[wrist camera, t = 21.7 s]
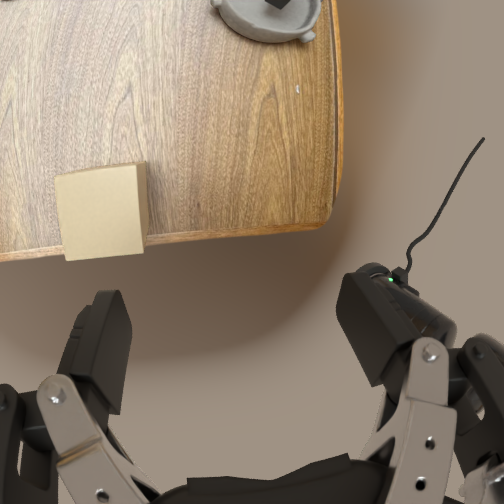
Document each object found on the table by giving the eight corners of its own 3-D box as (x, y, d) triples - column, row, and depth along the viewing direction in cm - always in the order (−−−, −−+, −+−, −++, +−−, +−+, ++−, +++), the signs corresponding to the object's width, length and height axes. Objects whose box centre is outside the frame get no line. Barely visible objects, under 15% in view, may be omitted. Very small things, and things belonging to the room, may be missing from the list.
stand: (145, 160, 31) (136, 164, 21) (149, 223, 34) (143, 253, 24) (85, 168, 29) (53, 176, 19) (91, 230, 32) (65, 261, 22)
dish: (197, 21, 26) (202, 4, 21) (241, -36, 23) (251, -53, 19) (292, 66, 32) (309, 56, 27) (323, 7, 29) (340, -5, 24)
